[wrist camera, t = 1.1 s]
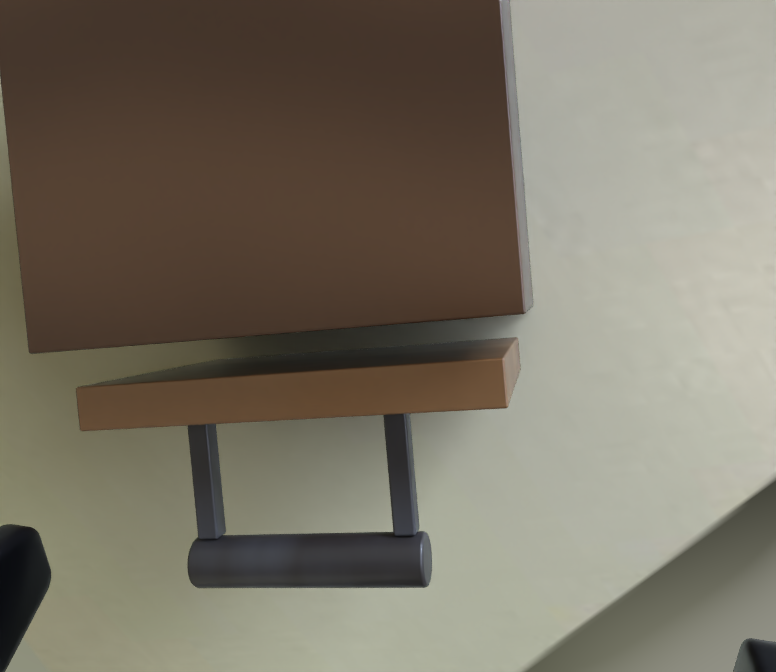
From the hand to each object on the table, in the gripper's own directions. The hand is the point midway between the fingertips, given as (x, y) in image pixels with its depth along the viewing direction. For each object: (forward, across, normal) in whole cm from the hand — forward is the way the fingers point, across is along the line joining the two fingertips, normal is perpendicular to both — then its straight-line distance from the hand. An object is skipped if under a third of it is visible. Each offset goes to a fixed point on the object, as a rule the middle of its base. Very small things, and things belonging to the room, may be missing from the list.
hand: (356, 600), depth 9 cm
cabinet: (+20, +6, -1) cm, 21 cm away
